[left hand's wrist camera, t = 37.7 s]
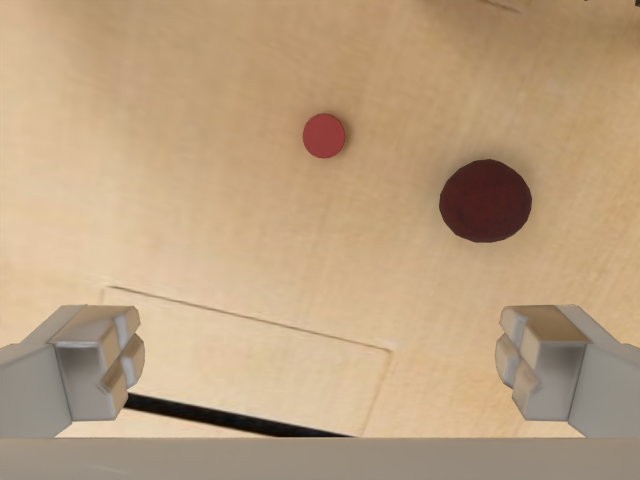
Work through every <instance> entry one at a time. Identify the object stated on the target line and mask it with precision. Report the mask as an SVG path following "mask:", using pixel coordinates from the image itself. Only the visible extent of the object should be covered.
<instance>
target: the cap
mask: <svg viewBox="0 0 640 480" xmlns="http://www.w3.org/2000/svg"><path fill="white" fill-rule="evenodd" d="M344 141H345V133H344V129H343V127H342V125H341V123H340V121H339V120H338V119H337V118H335V117H334V116H332V115H329V114H319V115H316V116H314V117H312V118H311V119H310V120H309V121H308V122H307V124H306V126H305V128H304V132H303V142H304V145H305V147H306V149H307V150H308V151H309V152H310V153H311V154H312V155H314V156H316V157H318V158H329V157H332V156H334V155H336V154H337V153H338V152H339V151H340V150H341V149H342V147H343V145H344Z"/></svg>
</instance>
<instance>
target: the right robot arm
mask: <svg viewBox="0 0 640 480" xmlns="http://www.w3.org/2000/svg"><path fill="white" fill-rule="evenodd" d="M584 1H586V0H584ZM635 6H638V7H640V0H636V2H635Z"/></svg>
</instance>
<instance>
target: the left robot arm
mask: <svg viewBox="0 0 640 480" xmlns="http://www.w3.org/2000/svg"><path fill="white" fill-rule="evenodd" d="M140 324H141V323H140V318H139V313H138V310H137V309H136V308H135V307H134V306H113V305H64V306H61V307H60V308H59V309H58V310H56V311H55V312H54V313H53V314H52V315H51V316H50V317H49V318H47V319H46V320H45V321H44V322H43V323H42V324H41V325H40V326H39V327H37V328H36V329H35V330H34V331H33V332H32V333H31V334H30V335H28V336H27V337H26V338H25V339H24V340H23V341H22V342H21V343H19V344H10V345H7V346H5V347H2V348H0V480H640V348H638V347H635V346H633V345H630V344H621V343H619V342H618V341H617V340H616V339H615V338H614V337H613V336H612V335H611V334H609V333H608V332H607V331H606V330H605V329H604V328H603V327H602V326H600V325H599V324H598V323H597V322H596V321H595V320H594V319H593V318H592V317H590V316H589V315H588V314H587V313H586V312H585V311H584V310H583V309H581V308H580V307H579V306H576V305H573V304H572V305H531V306H507V307H504V309H503V311H502V313H501V318H500V323H499V324H500V326H501V327H502V329H503V330H504V332H505V333H504V334H503V335H502V336H501V337H500V338H499V339H498V340H497V342H496V350H495V360H496V368H497V371H498V374H499V377H500V378H501V380H502V382H503V384H505V385H506V386H508V387H510V388H511V389H513V394H512V399H513V401H514V402H515V404H516V406H517V407H518V409H519V411H520V412H521V414H522V416H523V417H524V419H525V420H527V421H564V422H568V424H569V425H570V426H572V427H573V428H575V429H576V430H577V431H579V432H580V433H581V434H583V435H584V436H585V437H587V438H53V437H55V436H56V435H57V434H59V433H60V432H62V431H63V430H64V429H66V428H67V427H68V426H70V425H71V424H72V422H76V421H111V420H115V419H116V417H117V416H118V414H119V412H120V411H121V409H122V407H123V406H124V404H125V402H126V401H127V399H128V394H127V389H129V388H130V387H132V386H134V385H135V384H137V382H138V380H139V378H140V376H141V375H142V371H143V367H144V363H145V349H144V342H143V340H142V339H141V338H140V337H139V336H138V335H137V334H136V333H135V332H136V330H137V329H138V327H139V326H140Z"/></svg>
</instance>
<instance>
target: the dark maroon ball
mask: <svg viewBox="0 0 640 480" xmlns="http://www.w3.org/2000/svg"><path fill="white" fill-rule="evenodd" d="M531 204H532V197H531V193H530V189H529V188H528V186H527V184H526V183H525V181H524V180H523V178H522V177H521V176H520V175H519V174H518V173H517V172H516V171H514V170H513V169H511V168H510V167H508V166H506V165H505V164H503V163H501V162H499V161H495V160H491V159H487V160H479V161H474V162H472V163H470V164H468V165H466V166H464V167H462V168H460V169H459V170H458V171H457V172H456V173H455V174H454V175H453V176H452V177H451V178H450V179H448V180H447V182H446V184H445V186H444V188H443V190H442V192H441V194H440V203H439V209H440V212H441V215H442V217H443V220H444V222H445V223H446V224H447V226H448V227H449V228H450V229H451V230H452V231H453V232H454V233H455V234H456V235H458V236H460V237H462V238H465V239H468V240H470V241H473V242H487V243H491V242H496V241H500V240H504V239H506V238H508V237H510V236H512V235H514V234H515V233H516V232H517V231H519V230H520V229H521V228H522V226H523V225H524V224H525V222H526V221H527V219H528V217H529V214H530V211H531Z"/></svg>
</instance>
